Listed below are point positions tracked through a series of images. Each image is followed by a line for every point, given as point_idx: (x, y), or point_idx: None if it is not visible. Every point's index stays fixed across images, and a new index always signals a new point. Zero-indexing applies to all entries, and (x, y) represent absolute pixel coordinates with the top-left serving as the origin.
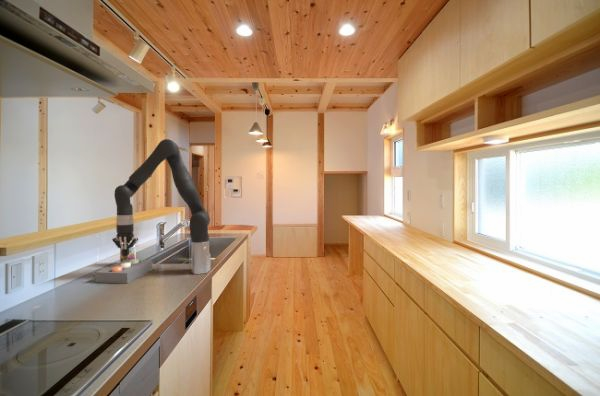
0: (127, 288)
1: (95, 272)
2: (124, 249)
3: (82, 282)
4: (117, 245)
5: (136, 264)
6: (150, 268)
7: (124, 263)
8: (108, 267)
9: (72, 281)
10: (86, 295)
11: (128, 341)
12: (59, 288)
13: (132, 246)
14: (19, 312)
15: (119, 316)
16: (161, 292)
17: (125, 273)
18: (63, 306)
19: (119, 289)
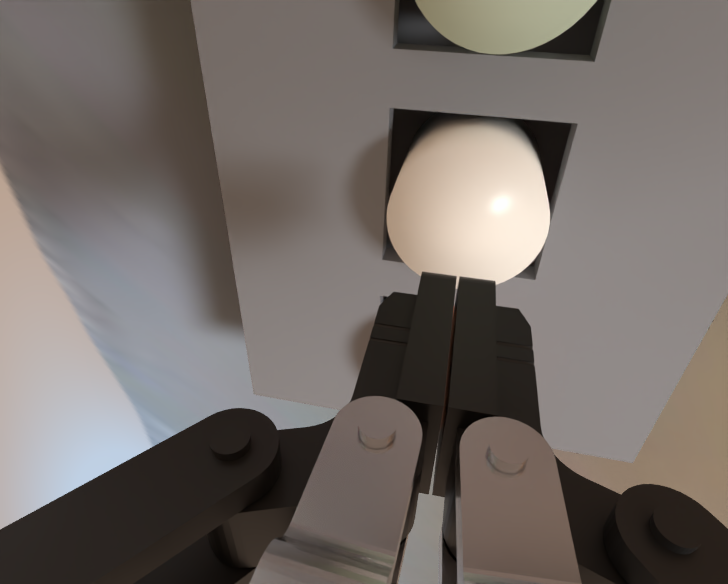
0: (658, 465)
1: (255, 392)
2: (439, 490)
3: (183, 314)
4: (181, 577)
5: (629, 93)
6: None
7: (443, 229)
8: (248, 249)
9: (83, 286)
10: (417, 507)
11: None
12: (148, 397)
13: (720, 559)
14: None
15: None
16: None
17: (609, 455)
18: (401, 578)
19: (595, 470)
